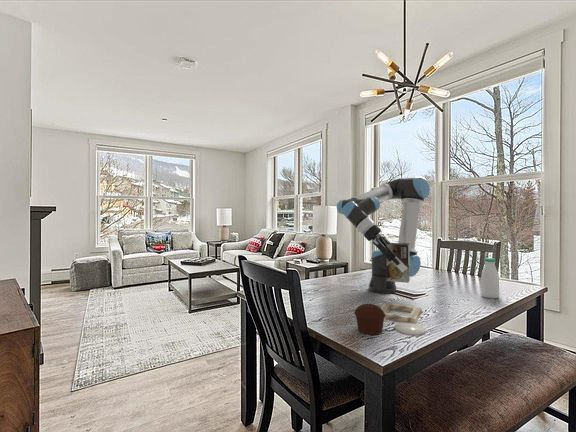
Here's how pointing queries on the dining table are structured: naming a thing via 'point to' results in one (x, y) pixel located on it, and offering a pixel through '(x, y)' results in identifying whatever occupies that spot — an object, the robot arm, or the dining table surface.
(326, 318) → the dining table surface
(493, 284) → the milk bottle
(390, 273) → the coffee box
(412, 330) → the coaster
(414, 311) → the holder board
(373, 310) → the muffin
